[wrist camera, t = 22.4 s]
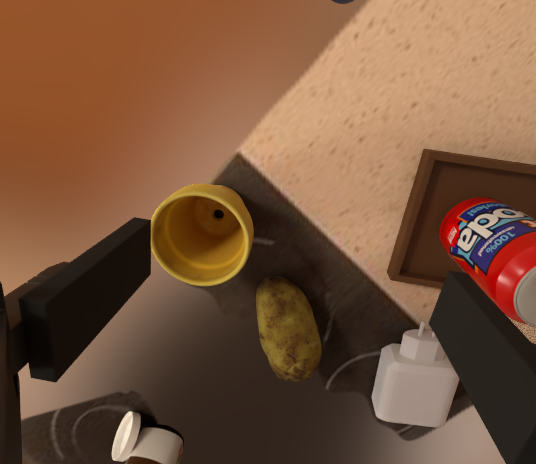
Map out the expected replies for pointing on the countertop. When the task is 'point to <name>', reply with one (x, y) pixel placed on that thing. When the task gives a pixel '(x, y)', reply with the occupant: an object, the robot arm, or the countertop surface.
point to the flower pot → (202, 234)
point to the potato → (287, 329)
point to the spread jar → (146, 443)
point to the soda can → (495, 253)
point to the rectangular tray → (443, 200)
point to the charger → (414, 381)
